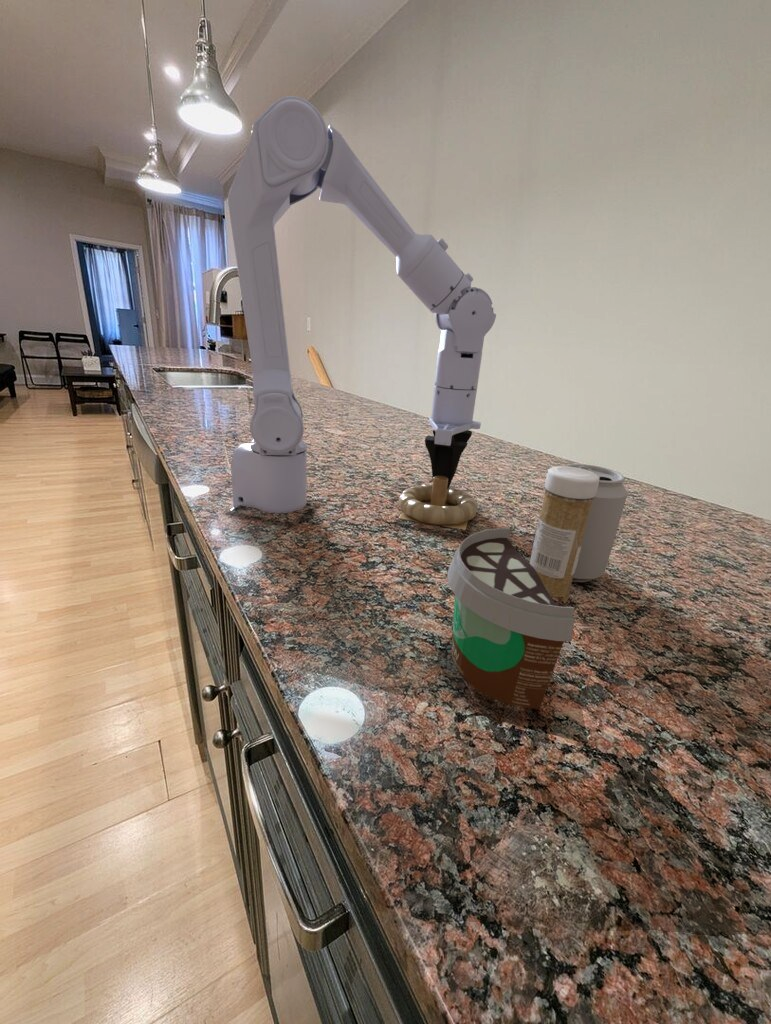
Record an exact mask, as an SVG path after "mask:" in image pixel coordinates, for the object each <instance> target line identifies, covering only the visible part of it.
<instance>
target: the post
mask: <svg viewBox="0 0 771 1024" xmlns="http://www.w3.org/2000/svg"><path fill="white" fill-rule="evenodd" d="M432 485H433V487H432V496H431V501H421V502H423V503H425V504H429V505H435V506H441V507H443V506H454V505H452V504H449V503H445V501H446V493H447V485H448V478H447V477H445V476H434V478H432ZM398 519H399V520H406V521H411V522H417V523H422V524H429V525H434V526H440V527H446V528H452V529H458V530H463V531H466V530H467V527H468V522H469V520H468V521H466V522H463V523H461V524H452V525H438V524H432V523H426V522H421V521H419V520H417V519H414V518H412V517H410V516H408V515H406V514H405V513H404V512H403V511H402V512H401V513H400V514H399V516H398Z"/></svg>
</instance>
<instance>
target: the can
mask: <svg viewBox="0 0 771 1024" xmlns="http://www.w3.org/2000/svg"><path fill="white" fill-rule="evenodd" d="M564 466H569V467H576V468H581V469H585V470H588V471H591V472H593V473H595V474H597V475H598V476H599V479H600V480H599V485H598V489H597V493H596V496H595V497H594V499H593V501H592V502H591V506H590V511H589V516H588V520H587V524H586V527H585V531H584V535H583V539H582V543H581V550H580V554H579V559H578V563H577V566H576V570H575V573H574V575H573V578H572V582H573V583H587V582H591V581H593V580H595V579H599V578H601V577H602V576H603V575H604V574H605V572H606V569H607V567H608V562H609V559H610V555H611V553H612V550H613V545H614V543H615V538H616V536H617V532H618V529H619V525H620V522H621V519H622V515H623V512H624V508H625V504H626V502H627V499H628V495H629V492H628V490H627V489H626V487H625V485H624V484H623V483H624V482H625V481H626V477H625V476H624V475H623V474H622V473H620V472H618V471H615V470H613V469H610V468H607V467H603V466H598V465H594V464H584V463H570V464H565V465H564Z"/></svg>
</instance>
